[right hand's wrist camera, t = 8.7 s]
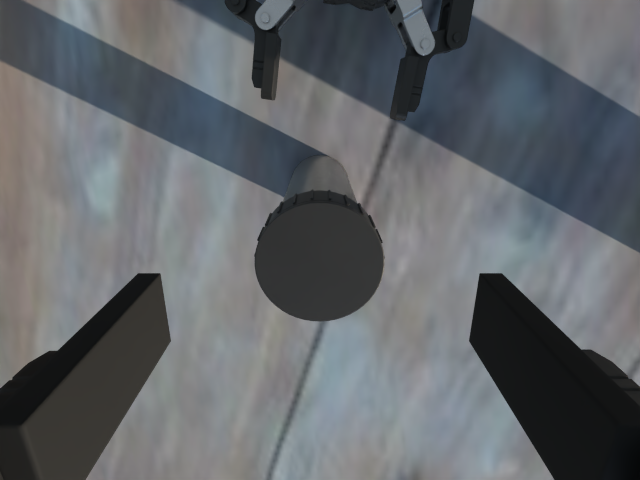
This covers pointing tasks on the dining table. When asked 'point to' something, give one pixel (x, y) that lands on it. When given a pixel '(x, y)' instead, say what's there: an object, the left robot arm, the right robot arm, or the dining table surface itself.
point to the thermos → (319, 177)
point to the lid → (319, 256)
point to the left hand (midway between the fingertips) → (333, 109)
